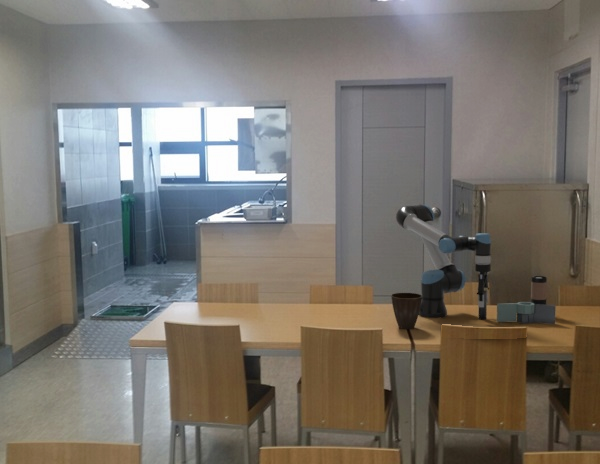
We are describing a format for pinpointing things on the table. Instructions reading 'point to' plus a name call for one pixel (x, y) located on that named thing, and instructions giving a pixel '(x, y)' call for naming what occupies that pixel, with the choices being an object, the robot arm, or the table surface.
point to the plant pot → (406, 309)
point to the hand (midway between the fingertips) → (483, 304)
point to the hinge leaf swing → (513, 310)
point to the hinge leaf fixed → (539, 315)
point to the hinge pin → (483, 310)
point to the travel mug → (538, 290)
